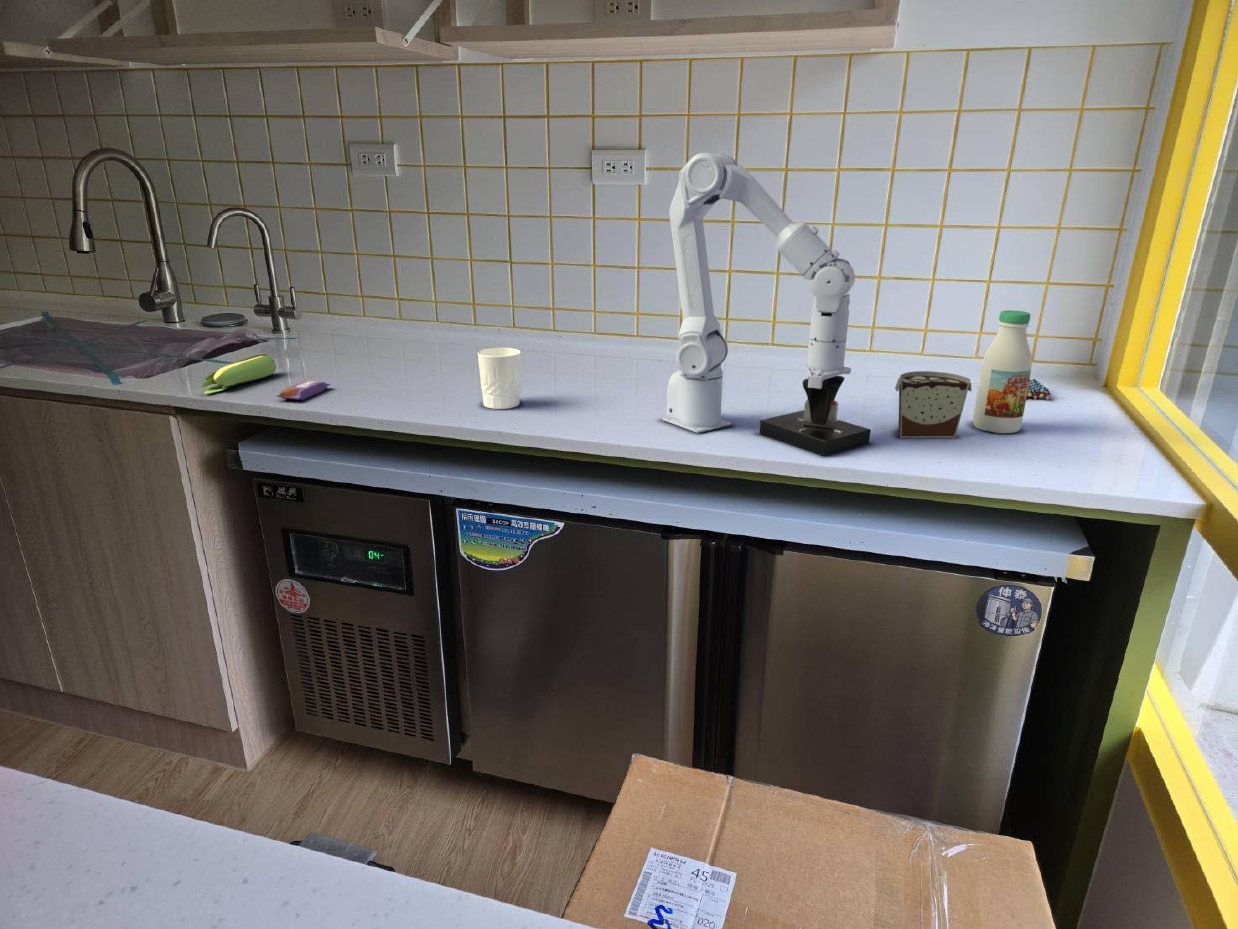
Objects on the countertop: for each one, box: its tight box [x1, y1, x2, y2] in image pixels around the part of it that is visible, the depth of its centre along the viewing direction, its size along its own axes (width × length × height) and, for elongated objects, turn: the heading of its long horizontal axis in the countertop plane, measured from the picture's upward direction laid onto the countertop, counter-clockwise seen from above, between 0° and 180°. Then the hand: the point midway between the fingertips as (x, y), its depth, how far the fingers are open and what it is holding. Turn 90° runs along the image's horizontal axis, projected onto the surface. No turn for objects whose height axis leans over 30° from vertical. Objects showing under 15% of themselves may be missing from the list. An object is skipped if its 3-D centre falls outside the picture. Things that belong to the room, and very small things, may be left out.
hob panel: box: [759, 409, 872, 457], centre depth 135 cm, size 14×11×3 cm
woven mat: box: [1026, 378, 1052, 400], centre depth 164 cm, size 10×11×2 cm
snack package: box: [275, 380, 332, 401], centre depth 159 cm, size 12×2×5 cm
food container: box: [894, 370, 973, 439], centre depth 138 cm, size 12×6×10 cm, turn 92°
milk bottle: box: [972, 309, 1033, 434], centre depth 139 cm, size 8×8×20 cm
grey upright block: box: [803, 398, 839, 429], centre depth 133 cm, size 5×2×4 cm, turn 65°
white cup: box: [477, 347, 522, 410], centre depth 152 cm, size 8×8×10 cm
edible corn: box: [201, 353, 277, 395], centre depth 166 cm, size 5×20×5 cm, turn 163°
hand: (819, 421), depth 133 cm, fingers closed on grey upright block, 2 cm apart
